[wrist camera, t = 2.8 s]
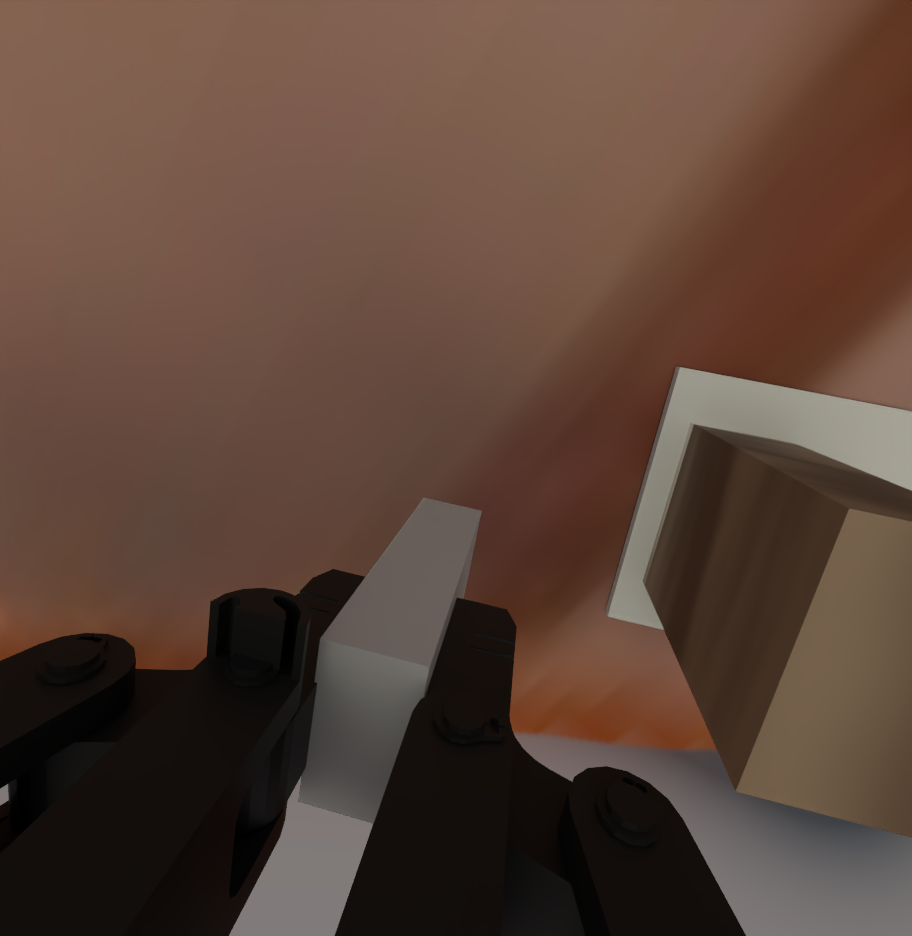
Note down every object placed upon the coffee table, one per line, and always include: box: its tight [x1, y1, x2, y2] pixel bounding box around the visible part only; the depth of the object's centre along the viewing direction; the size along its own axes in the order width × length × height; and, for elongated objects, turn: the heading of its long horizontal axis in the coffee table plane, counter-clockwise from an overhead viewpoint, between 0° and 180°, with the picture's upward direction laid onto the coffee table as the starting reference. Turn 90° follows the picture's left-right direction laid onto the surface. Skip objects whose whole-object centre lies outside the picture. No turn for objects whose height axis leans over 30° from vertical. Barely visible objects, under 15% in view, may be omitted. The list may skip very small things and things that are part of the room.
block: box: [643, 423, 912, 837], centre depth 16 cm, size 4×7×11 cm, turn 170°
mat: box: [606, 366, 912, 630], centre depth 21 cm, size 18×11×2 cm, turn 80°
